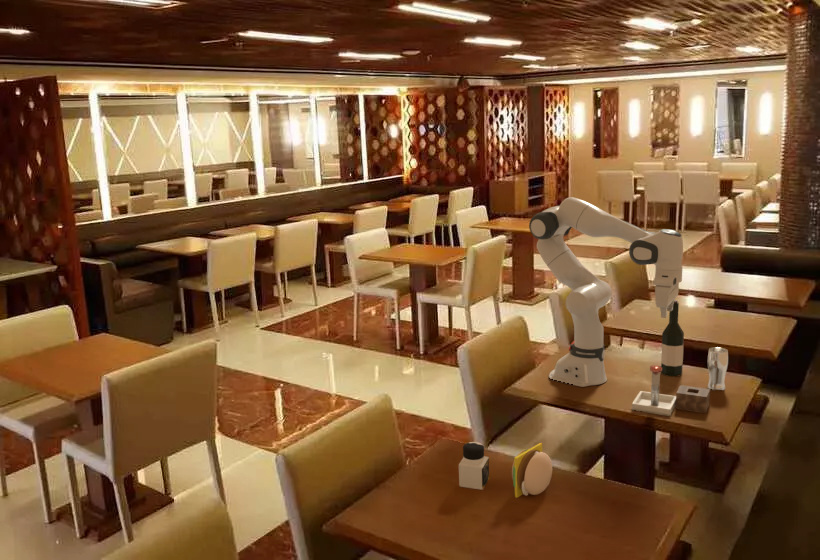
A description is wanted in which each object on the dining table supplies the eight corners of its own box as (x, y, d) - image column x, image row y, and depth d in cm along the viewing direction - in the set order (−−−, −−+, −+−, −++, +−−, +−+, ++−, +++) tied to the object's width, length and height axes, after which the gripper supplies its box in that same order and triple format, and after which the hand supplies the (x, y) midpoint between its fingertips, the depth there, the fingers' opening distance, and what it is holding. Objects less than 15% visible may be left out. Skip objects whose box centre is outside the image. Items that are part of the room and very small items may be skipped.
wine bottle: (656, 372, 286) (658, 300, 280) (667, 367, 292) (670, 296, 285) (675, 378, 280) (678, 304, 274) (686, 372, 285) (689, 300, 279)
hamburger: (532, 504, 194) (532, 464, 192) (508, 494, 200) (507, 455, 198) (557, 487, 202) (557, 449, 200) (534, 478, 208) (533, 440, 206)
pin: (647, 405, 254) (649, 368, 251) (650, 401, 257) (651, 364, 254) (659, 407, 252) (660, 369, 249) (661, 403, 255) (663, 366, 252)
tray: (631, 410, 252) (631, 403, 252) (640, 397, 263) (640, 390, 263) (670, 416, 246) (670, 409, 245) (677, 402, 257) (677, 396, 256)
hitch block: (675, 408, 252) (676, 392, 250) (679, 400, 258) (680, 385, 257) (705, 413, 247) (706, 397, 245) (709, 405, 253) (710, 389, 252)
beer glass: (722, 384, 272) (724, 347, 268) (729, 391, 265) (731, 353, 262) (703, 384, 272) (705, 347, 269) (709, 391, 266) (711, 353, 262)
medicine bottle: (482, 490, 203) (481, 451, 200) (459, 486, 205) (457, 448, 203) (489, 478, 209) (488, 441, 207) (466, 475, 212) (465, 438, 209)
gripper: (665, 269, 259) (664, 305, 262) (652, 281, 242) (650, 320, 245) (683, 270, 256) (682, 307, 259) (671, 283, 239) (669, 322, 242)
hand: (666, 314), depth 252 cm, fingers open, 8 cm apart
